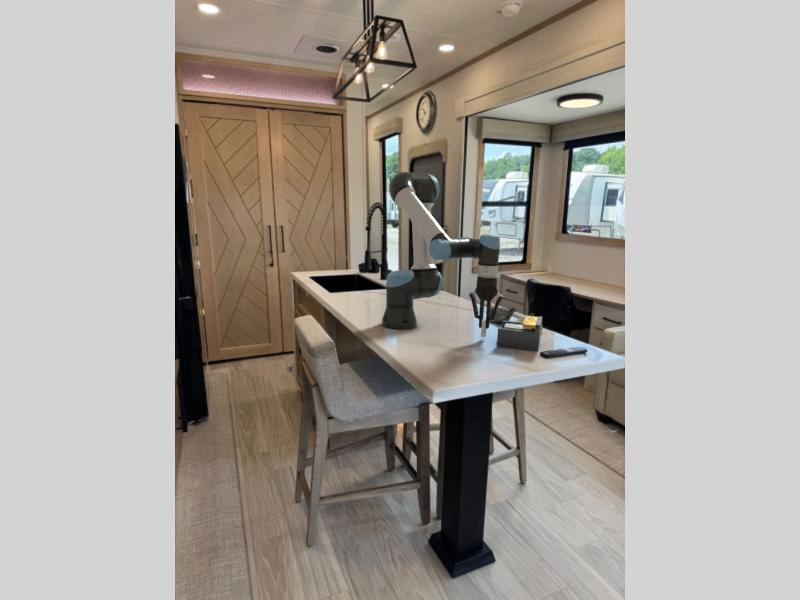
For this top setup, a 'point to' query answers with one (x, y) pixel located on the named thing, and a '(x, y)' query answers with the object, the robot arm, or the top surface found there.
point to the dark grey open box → (521, 335)
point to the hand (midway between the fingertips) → (483, 336)
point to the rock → (502, 314)
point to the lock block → (516, 327)
